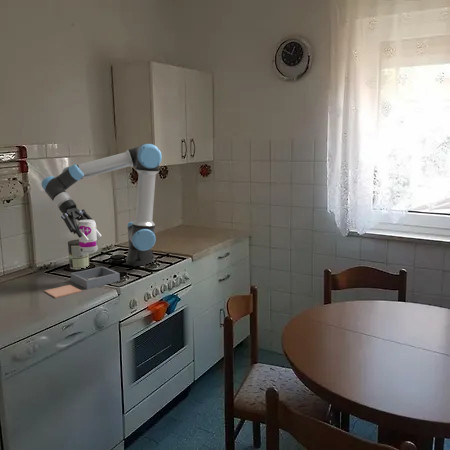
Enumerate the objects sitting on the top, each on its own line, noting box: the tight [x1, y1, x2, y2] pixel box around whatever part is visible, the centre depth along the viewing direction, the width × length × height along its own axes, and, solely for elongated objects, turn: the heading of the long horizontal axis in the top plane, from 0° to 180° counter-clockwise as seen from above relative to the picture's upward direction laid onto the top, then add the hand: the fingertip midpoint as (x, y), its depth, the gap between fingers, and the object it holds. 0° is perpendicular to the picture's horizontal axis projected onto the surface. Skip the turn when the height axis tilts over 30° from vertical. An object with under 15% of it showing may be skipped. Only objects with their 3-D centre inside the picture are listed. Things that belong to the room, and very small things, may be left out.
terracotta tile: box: [44, 284, 82, 299], centre depth 215 cm, size 12×12×1 cm
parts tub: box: [70, 265, 121, 290], centre depth 230 cm, size 17×17×4 cm
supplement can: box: [77, 218, 99, 254], centre depth 224 cm, size 8×8×15 cm
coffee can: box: [67, 238, 90, 270], centre depth 255 cm, size 10×10×14 cm
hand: (93, 239), depth 223 cm, fingers closed on supplement can, 8 cm apart
